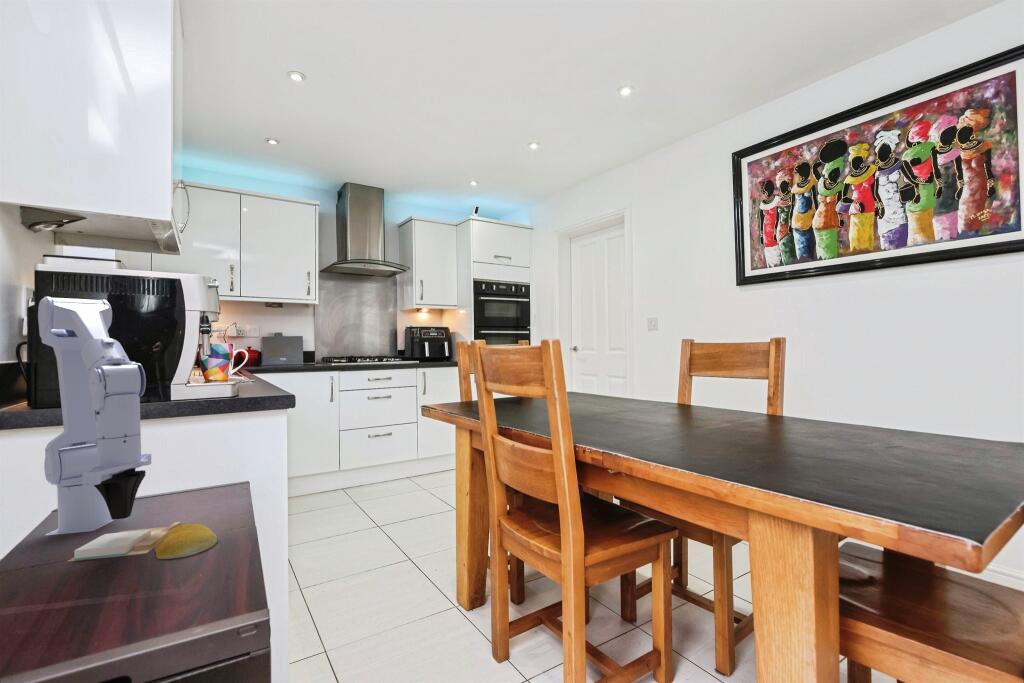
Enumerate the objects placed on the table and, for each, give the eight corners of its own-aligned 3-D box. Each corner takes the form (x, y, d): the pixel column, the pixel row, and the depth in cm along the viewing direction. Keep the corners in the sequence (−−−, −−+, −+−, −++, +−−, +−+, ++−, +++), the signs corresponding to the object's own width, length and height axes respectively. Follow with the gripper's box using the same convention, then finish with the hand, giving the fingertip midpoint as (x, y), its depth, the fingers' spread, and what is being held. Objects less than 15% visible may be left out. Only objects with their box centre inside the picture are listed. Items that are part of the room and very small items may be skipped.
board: (120, 534, 86) (120, 531, 86) (187, 528, 88) (187, 524, 88) (66, 565, 74) (66, 561, 74) (146, 556, 75) (146, 553, 75)
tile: (104, 534, 81) (74, 550, 74) (150, 529, 82) (125, 545, 75) (104, 542, 81) (74, 560, 74) (150, 538, 82) (125, 555, 75)
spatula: (170, 527, 87) (170, 522, 87) (185, 525, 88) (185, 521, 88) (133, 551, 76) (133, 546, 76) (151, 549, 77) (151, 544, 77)
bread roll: (158, 569, 71) (157, 542, 71) (153, 552, 78) (152, 527, 78) (222, 552, 77) (221, 526, 77) (212, 537, 83) (211, 514, 83)
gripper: (118, 441, 74) (120, 530, 73) (168, 428, 88) (170, 502, 88) (65, 445, 73) (67, 535, 72) (125, 430, 87) (127, 506, 86)
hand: (121, 517), depth 80 cm, fingers closed
